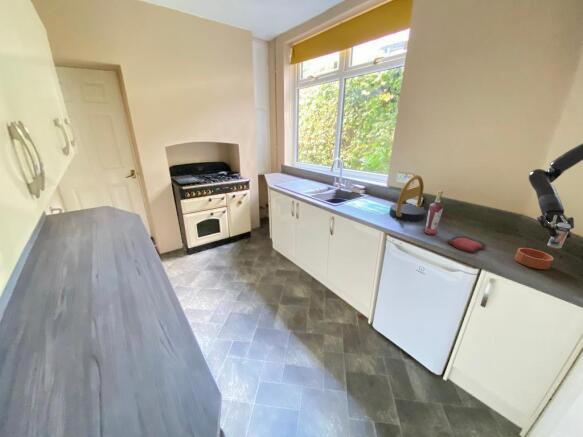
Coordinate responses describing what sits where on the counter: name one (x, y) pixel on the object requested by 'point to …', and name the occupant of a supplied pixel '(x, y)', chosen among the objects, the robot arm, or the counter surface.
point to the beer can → (559, 235)
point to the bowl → (533, 258)
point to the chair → (409, 211)
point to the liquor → (434, 215)
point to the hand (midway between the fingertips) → (561, 236)
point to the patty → (466, 245)
